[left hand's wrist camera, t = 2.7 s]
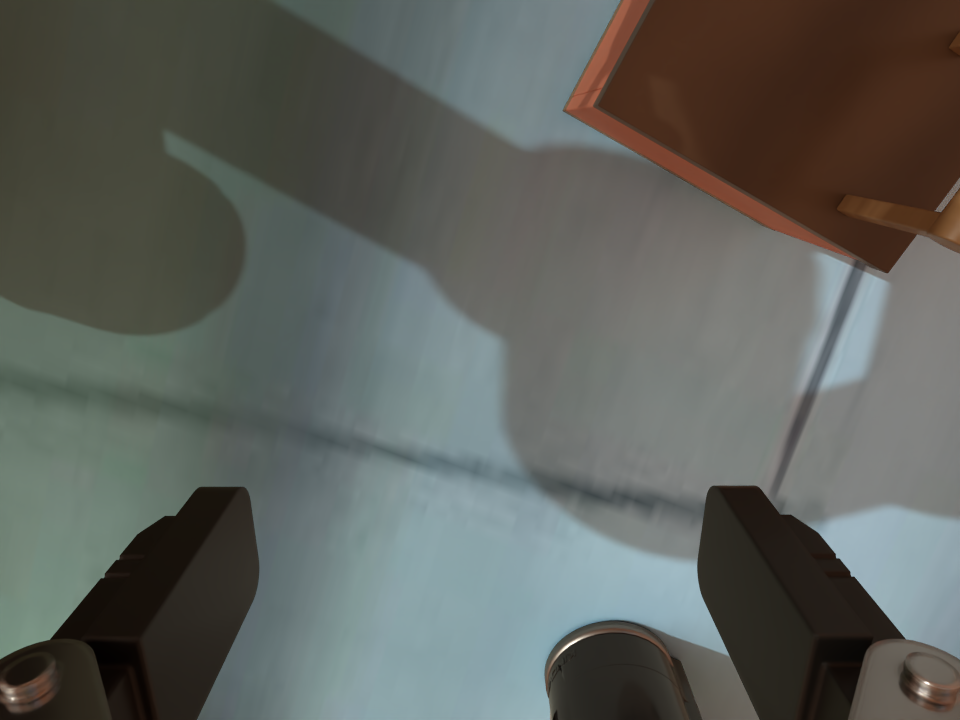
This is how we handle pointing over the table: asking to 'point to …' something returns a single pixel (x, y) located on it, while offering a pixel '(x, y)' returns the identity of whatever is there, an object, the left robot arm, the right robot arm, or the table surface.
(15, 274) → the table surface
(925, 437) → the table surface
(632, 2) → the chest
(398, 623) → the table surface
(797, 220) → the lid
